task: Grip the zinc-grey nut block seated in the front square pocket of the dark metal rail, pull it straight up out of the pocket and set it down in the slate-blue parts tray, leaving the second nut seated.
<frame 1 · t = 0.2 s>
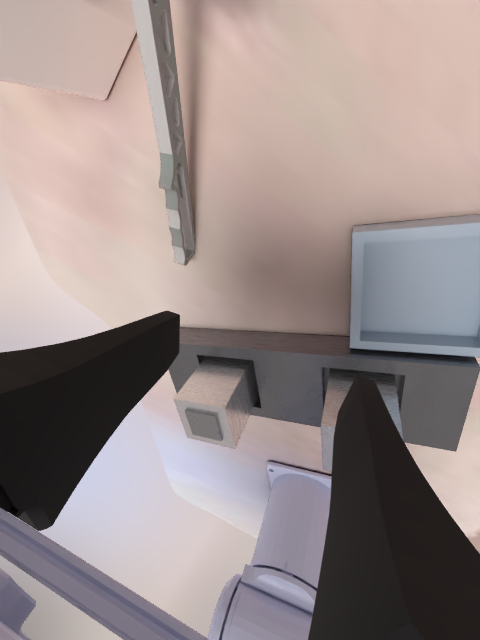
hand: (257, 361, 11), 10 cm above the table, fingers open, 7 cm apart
jar: (77, 7, 16), on the table
tray: (419, 283, 17), on the table
rail: (295, 369, 23), on the table
nut a: (360, 384, 21), point 1 cm above the table, touching rail
nut b: (235, 370, 24), point 1 cm above the table, touching rail
bracket: (198, 59, 16), on the table
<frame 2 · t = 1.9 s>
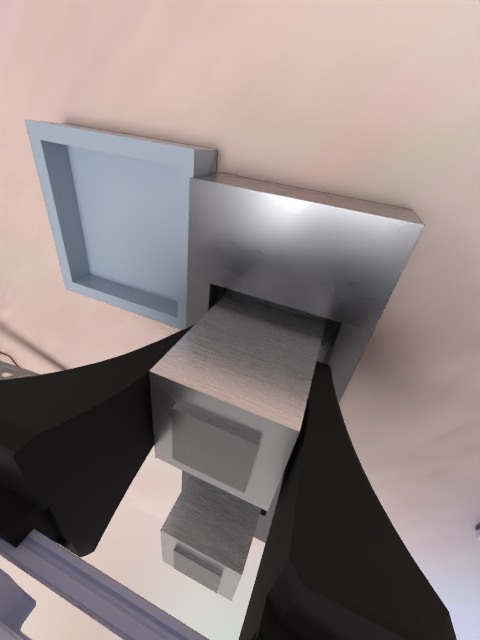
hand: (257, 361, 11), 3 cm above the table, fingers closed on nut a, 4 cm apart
jar: (9, 377, 28), on the table
tray: (141, 227, 14), on the table
rail: (259, 394, 16), on the table
nut a: (270, 335, 13), point 1 cm above the table, touching gripper, rail
nut b: (241, 457, 18), point 1 cm above the table, touching rail
bracket: (21, 334, 24), on the table
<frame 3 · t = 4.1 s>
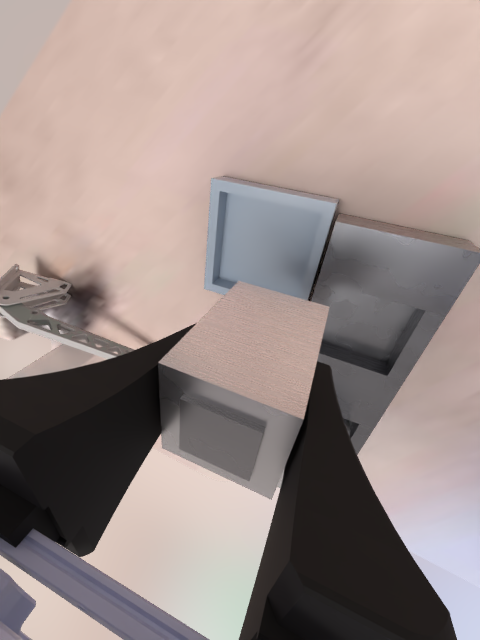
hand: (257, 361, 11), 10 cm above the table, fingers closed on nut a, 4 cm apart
jar: (104, 361, 34), on the table
tray: (267, 245, 19), on the table
rail: (339, 367, 22), on the table
nut a: (273, 331, 13), point 8 cm above the table, touching gripper
bracket: (129, 325, 30), on the table
when the fingers open (4 cm above the table, at t = 6.2 s): nut a stays where it is, resting on tray.
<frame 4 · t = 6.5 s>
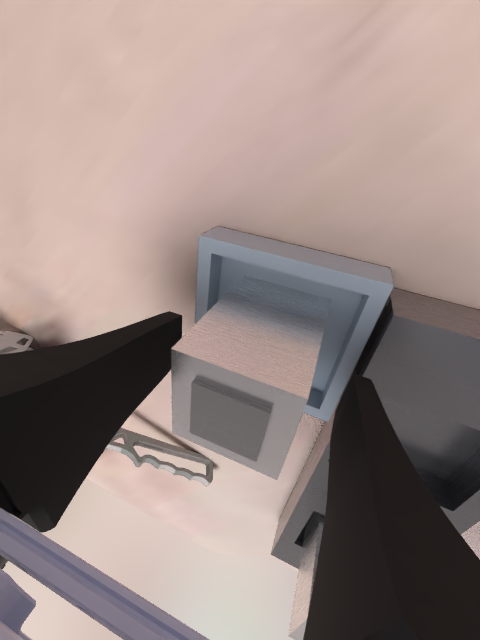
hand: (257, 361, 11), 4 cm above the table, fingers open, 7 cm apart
tray: (279, 318, 14), on the table
rail: (373, 467, 17), on the table
nut a: (276, 323, 13), point 1 cm above the table, touching tray
nut b: (344, 521, 19), point 1 cm above the table, touching rail
bracket: (105, 387, 24), on the table
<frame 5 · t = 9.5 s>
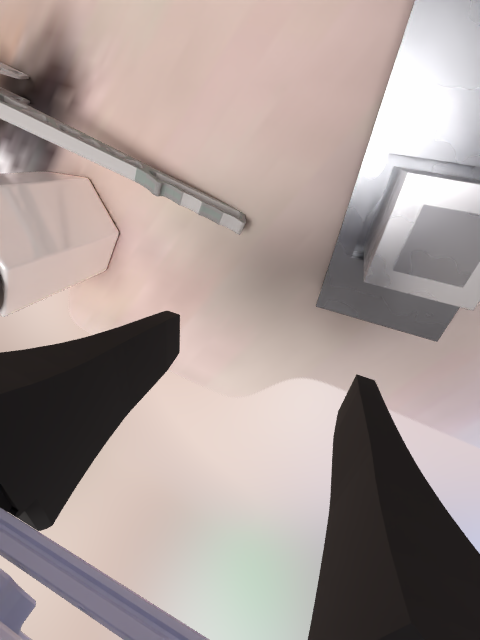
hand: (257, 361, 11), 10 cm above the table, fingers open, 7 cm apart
jar: (80, 223, 25), on the table
rail: (466, 98, 13), on the table
nut b: (417, 215, 15), point 1 cm above the table, touching rail
bracket: (114, 140, 20), on the table
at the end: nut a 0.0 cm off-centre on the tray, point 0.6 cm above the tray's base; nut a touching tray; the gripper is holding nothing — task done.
